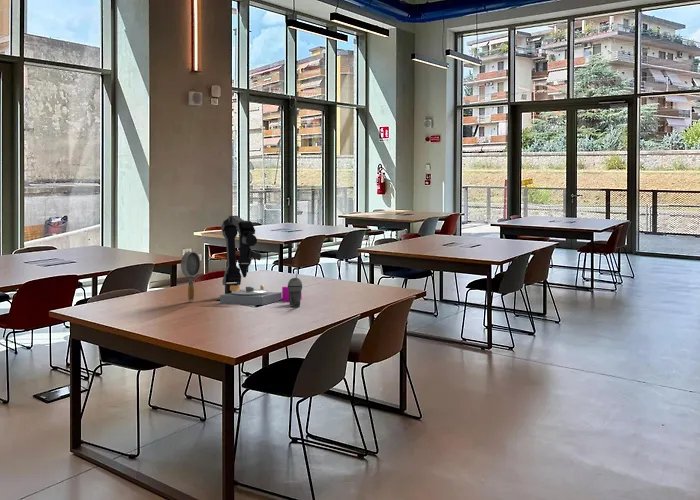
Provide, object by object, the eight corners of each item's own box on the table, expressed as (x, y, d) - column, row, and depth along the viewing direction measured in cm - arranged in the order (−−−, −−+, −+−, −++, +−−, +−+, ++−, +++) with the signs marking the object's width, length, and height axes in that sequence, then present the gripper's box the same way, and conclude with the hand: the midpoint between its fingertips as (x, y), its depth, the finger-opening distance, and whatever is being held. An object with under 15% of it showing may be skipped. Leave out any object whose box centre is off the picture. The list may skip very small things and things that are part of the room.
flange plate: (222, 294, 319) (222, 286, 319) (239, 291, 337) (239, 284, 336) (258, 295, 313) (258, 288, 313) (273, 292, 331) (273, 285, 331)
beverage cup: (287, 308, 317) (287, 268, 317) (302, 308, 318) (302, 268, 317) (287, 310, 310) (287, 268, 309) (302, 310, 310) (302, 269, 310)
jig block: (220, 303, 318) (220, 295, 318) (241, 298, 340) (241, 291, 340) (262, 304, 311) (262, 296, 311) (281, 300, 333) (281, 292, 333)
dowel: (259, 292, 333) (259, 285, 333) (261, 292, 335) (261, 285, 335) (262, 292, 333) (262, 285, 333) (264, 292, 334) (264, 285, 334)
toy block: (293, 302, 326) (293, 287, 326) (282, 301, 328) (282, 286, 328) (305, 299, 340) (305, 285, 340) (294, 298, 342) (294, 284, 342)
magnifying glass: (195, 299, 337) (195, 251, 336) (200, 299, 336) (200, 251, 335) (181, 301, 324) (180, 252, 324) (186, 301, 323) (186, 252, 323)
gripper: (260, 246, 315) (260, 278, 316) (261, 245, 334) (261, 275, 334) (237, 246, 314) (237, 278, 314) (239, 245, 332) (239, 275, 333)
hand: (244, 276), depth 324 cm, fingers open, 9 cm apart
